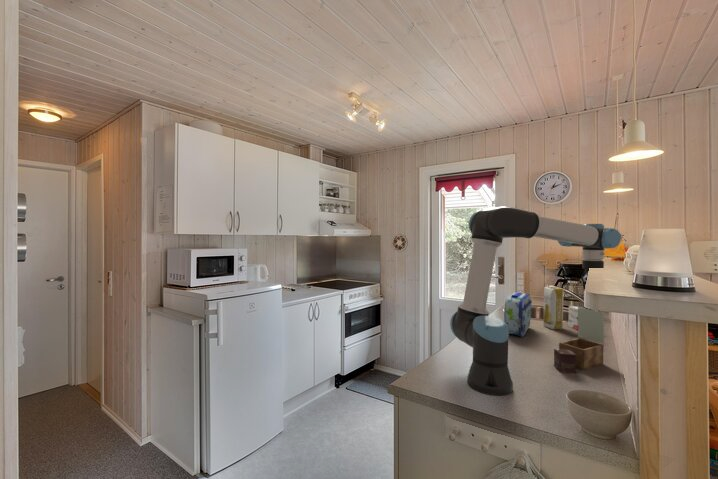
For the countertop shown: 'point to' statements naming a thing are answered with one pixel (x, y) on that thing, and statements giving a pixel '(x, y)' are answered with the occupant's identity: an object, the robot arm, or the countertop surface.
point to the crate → (584, 352)
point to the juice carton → (553, 307)
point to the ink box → (573, 317)
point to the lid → (591, 325)
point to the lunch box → (518, 313)
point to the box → (565, 360)
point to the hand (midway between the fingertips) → (591, 314)
